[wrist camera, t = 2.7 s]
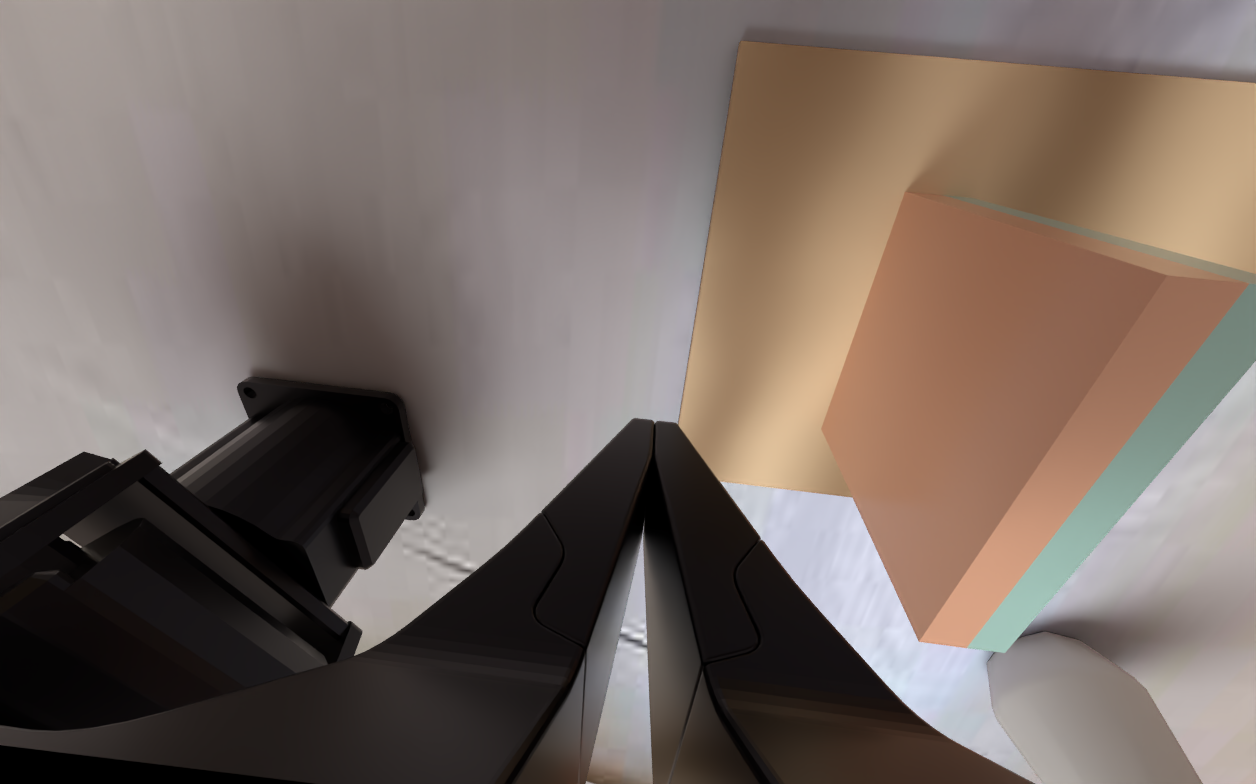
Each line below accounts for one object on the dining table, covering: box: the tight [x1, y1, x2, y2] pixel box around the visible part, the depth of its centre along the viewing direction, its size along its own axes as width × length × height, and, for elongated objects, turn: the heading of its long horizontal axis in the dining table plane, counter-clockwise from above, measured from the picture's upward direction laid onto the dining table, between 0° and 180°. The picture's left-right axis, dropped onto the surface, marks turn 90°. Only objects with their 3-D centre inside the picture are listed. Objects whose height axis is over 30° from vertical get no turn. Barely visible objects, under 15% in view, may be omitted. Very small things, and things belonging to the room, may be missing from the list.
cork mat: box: [678, 41, 1256, 497], centre depth 15 cm, size 16×14×1 cm
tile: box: [821, 192, 1256, 653], centre depth 11 cm, size 2×8×8 cm, turn 176°
